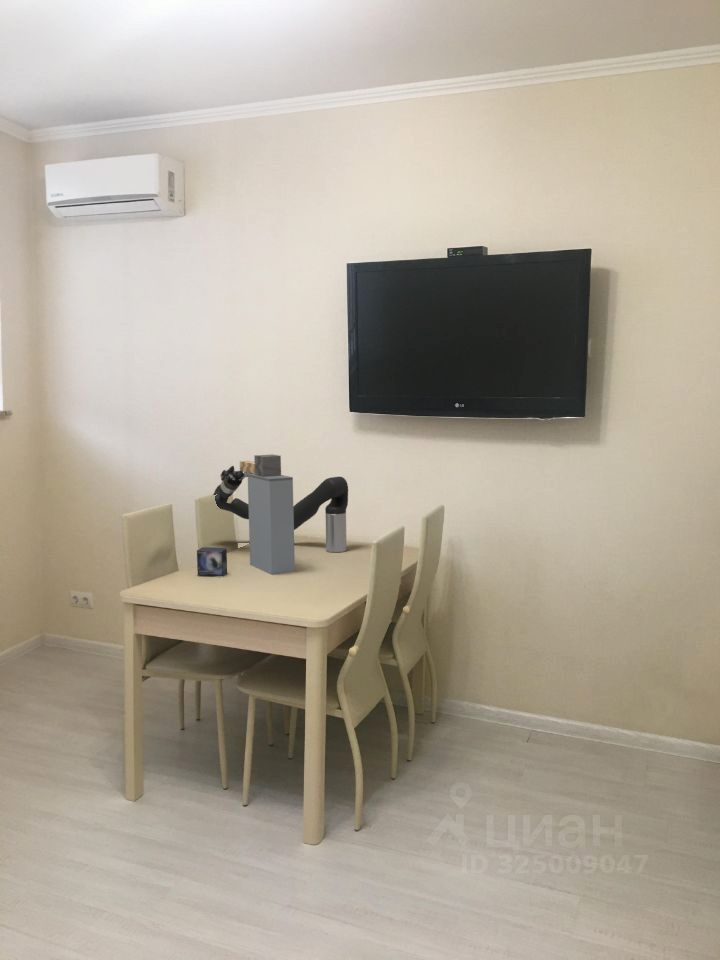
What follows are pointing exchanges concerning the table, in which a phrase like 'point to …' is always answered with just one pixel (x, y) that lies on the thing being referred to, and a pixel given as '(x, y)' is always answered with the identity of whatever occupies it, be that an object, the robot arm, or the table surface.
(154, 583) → the table surface
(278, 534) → the stand
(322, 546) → the table surface
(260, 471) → the peg
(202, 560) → the small box
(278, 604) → the table surface
